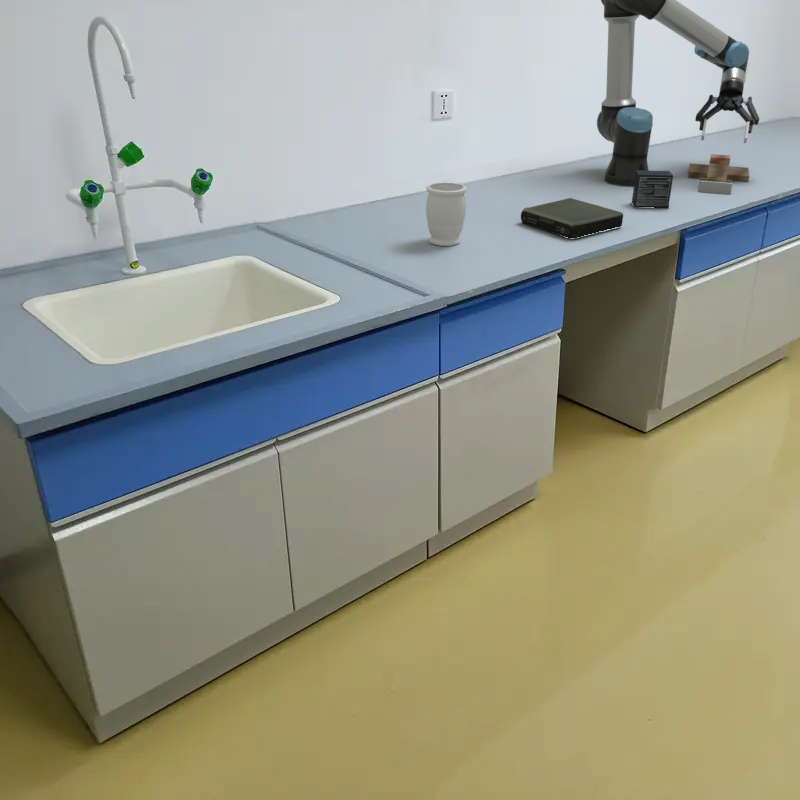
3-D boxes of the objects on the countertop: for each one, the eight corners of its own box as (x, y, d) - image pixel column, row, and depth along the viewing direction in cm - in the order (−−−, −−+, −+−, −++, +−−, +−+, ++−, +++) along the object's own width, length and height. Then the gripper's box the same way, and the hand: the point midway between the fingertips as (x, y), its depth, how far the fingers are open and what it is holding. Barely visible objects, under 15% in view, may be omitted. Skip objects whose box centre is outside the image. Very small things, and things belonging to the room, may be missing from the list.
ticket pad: (704, 190, 270) (710, 157, 265) (705, 187, 274) (711, 154, 269) (723, 192, 268) (730, 158, 263) (723, 188, 273) (730, 155, 267)
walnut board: (687, 177, 286) (688, 171, 285) (689, 168, 298) (690, 163, 297) (748, 182, 281) (749, 176, 280) (747, 173, 292) (748, 167, 291)
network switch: (627, 227, 235) (630, 210, 232) (580, 245, 220) (582, 226, 218) (561, 211, 249) (562, 195, 247) (513, 226, 235) (514, 209, 233)
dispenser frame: (698, 191, 269) (700, 181, 267) (699, 185, 277) (700, 174, 275) (730, 194, 266) (732, 183, 264) (730, 187, 274) (732, 177, 272)
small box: (664, 203, 256) (670, 170, 251) (668, 209, 250) (674, 175, 245) (630, 202, 257) (635, 169, 252) (634, 208, 251) (638, 174, 246)
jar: (462, 236, 226) (464, 181, 218) (466, 247, 217) (468, 191, 209) (424, 236, 225) (425, 182, 218) (426, 248, 216) (427, 191, 209)
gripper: (769, 94, 278) (761, 148, 273) (692, 91, 285) (684, 143, 280) (773, 80, 271) (765, 135, 266) (695, 77, 278) (686, 130, 273)
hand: (723, 139), depth 273 cm, fingers open, 13 cm apart
